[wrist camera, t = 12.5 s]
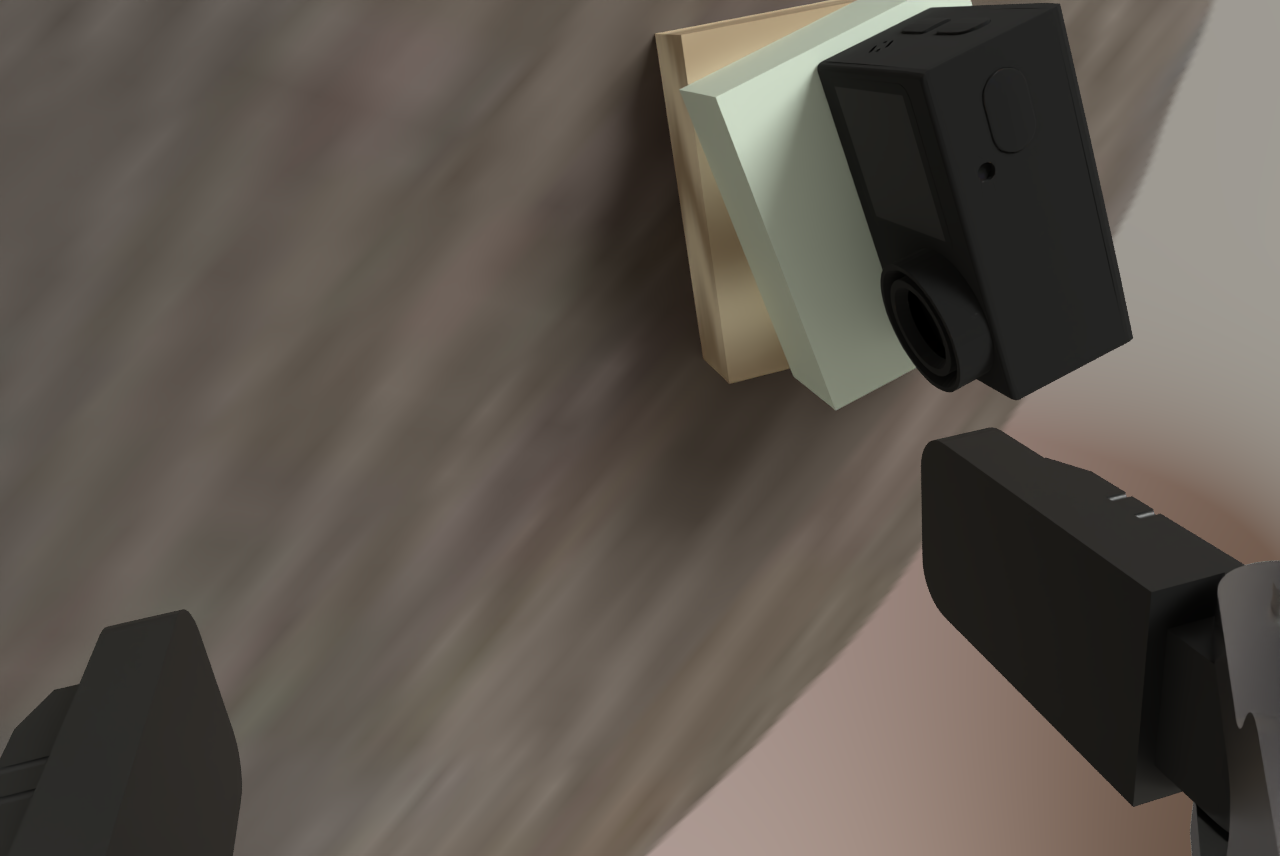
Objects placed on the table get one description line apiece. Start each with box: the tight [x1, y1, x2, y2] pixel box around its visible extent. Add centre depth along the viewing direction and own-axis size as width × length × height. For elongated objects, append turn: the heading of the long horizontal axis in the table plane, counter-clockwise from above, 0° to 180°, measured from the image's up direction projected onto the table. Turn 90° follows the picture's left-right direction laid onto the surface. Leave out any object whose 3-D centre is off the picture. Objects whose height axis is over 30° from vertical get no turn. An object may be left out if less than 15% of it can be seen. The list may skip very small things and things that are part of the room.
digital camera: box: [817, 3, 1133, 400], centre depth 32 cm, size 10×5×7 cm, turn 24°
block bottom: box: [655, 0, 856, 384], centre depth 41 cm, size 13×11×4 cm
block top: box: [679, 0, 972, 410], centre depth 37 cm, size 12×9×4 cm
